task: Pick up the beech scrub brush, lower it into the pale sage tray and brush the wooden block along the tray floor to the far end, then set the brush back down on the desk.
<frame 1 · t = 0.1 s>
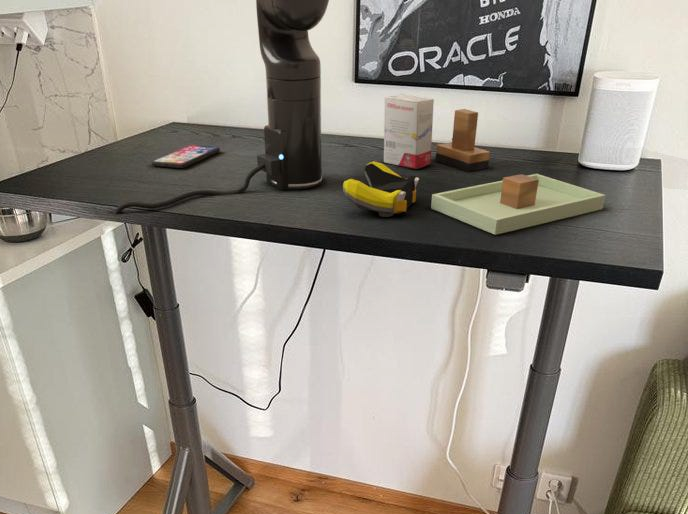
ink box: (406, 165, 143), on the table
wooden block: (517, 204, 120), point 1 cm above the table, touching tray
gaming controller: (382, 207, 122), on the table
tray: (516, 209, 120), on the table
smartphone: (187, 159, 147), on the table
brush: (461, 164, 143), on the table
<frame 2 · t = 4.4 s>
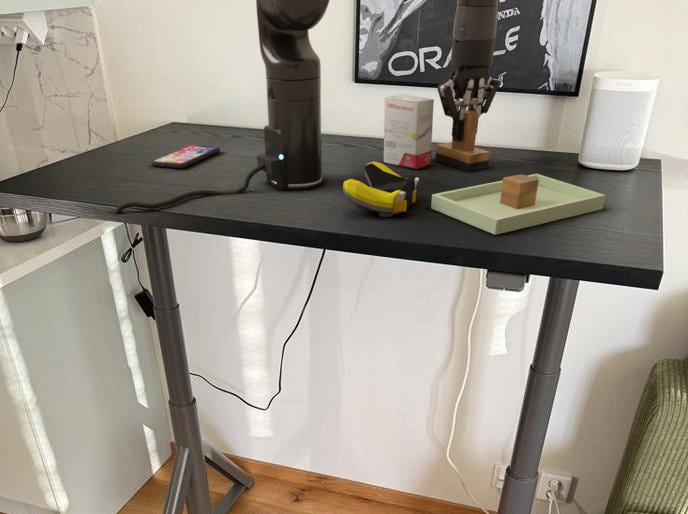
hand: (463, 139, 140), 5 cm above the table, tool pointing down, fingers closed on brush, 2 cm apart
brush: (461, 164, 143), on the table, touching gripper
everything else where it was.
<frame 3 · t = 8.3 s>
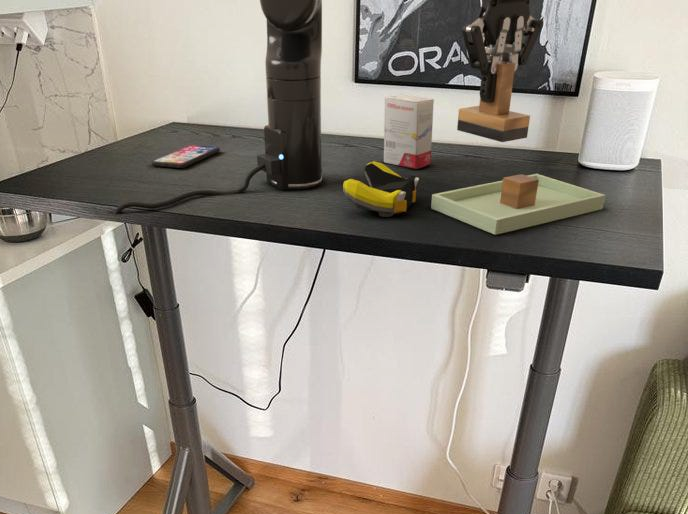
hand: (494, 100, 107), 17 cm above the table, tool pointing down, fingers closed on brush, 2 cm apart
brush: (491, 133, 110), point 12 cm above the table, touching gripper
everything else where it was.
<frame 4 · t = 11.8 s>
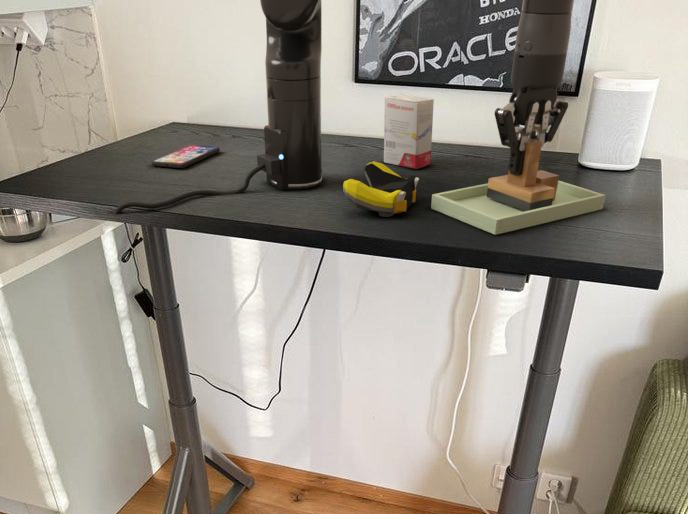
hand: (522, 172, 117), 6 cm above the table, tool pointing down, fingers closed on brush, 2 cm apart
wooden block: (537, 199, 122), point 1 cm above the table
brush: (518, 202, 119), point 1 cm above the table, touching gripper
everything else where it was.
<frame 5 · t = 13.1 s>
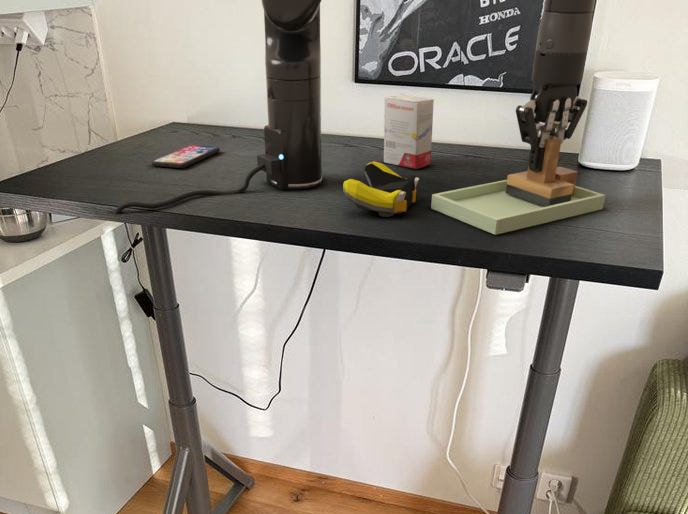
hand: (541, 169, 119), 6 cm above the table, tool pointing down, fingers closed on brush, 2 cm apart
wooden block: (556, 195, 123), point 1 cm above the table, touching brush, tray
brush: (537, 198, 121), point 1 cm above the table, touching wooden block, gripper
everything else where it was.
when the fingers open (5 cm above the table, at t = 19.4 s): brush stays where it is, on the table.
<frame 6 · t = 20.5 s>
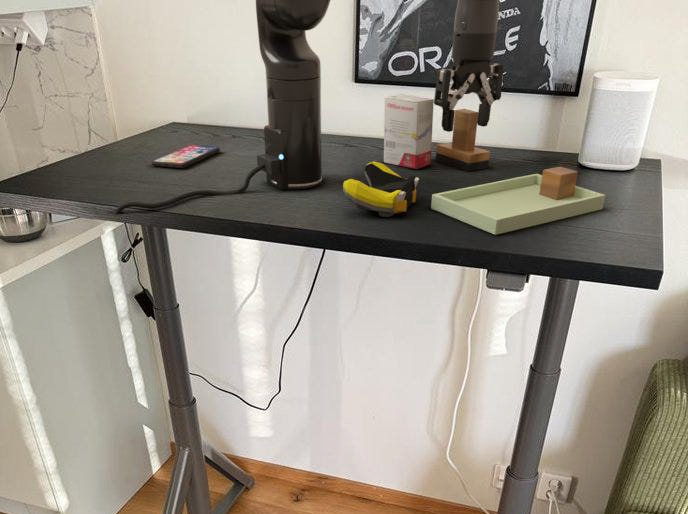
hand: (464, 128, 139), 7 cm above the table, tool pointing down, fingers open, 8 cm apart
wooden block: (556, 195, 123), point 1 cm above the table, touching tray
brush: (461, 164, 143), on the table
everything else where it was.
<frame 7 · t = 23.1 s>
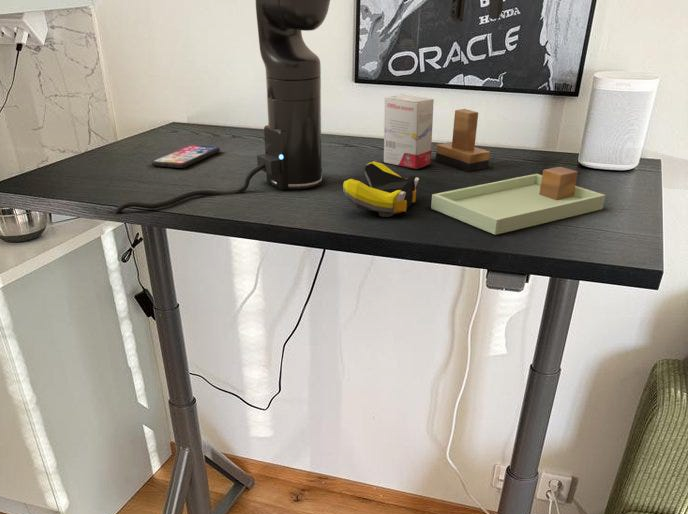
hand: (475, 20, 129), 24 cm above the table, tool pointing down, fingers open, 8 cm apart
nothing on the table moved.
at the end: wooden block inside the target area in the tray (1.2 cm from its centre), point 0.8 cm above the tray's base; brush inside the target area (0.1 cm from its centre), on the table; the gripper is holding nothing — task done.
